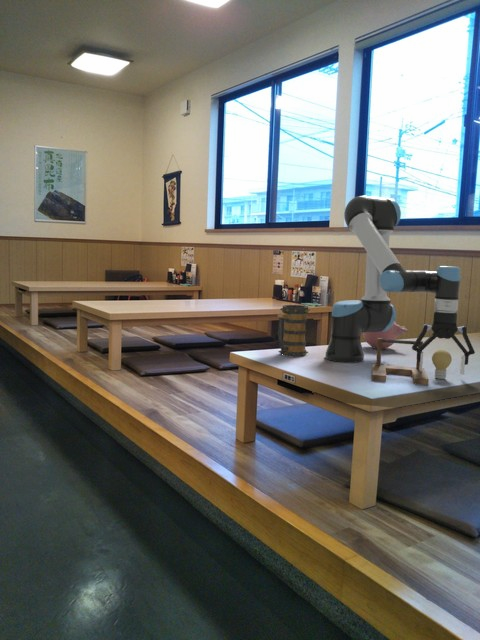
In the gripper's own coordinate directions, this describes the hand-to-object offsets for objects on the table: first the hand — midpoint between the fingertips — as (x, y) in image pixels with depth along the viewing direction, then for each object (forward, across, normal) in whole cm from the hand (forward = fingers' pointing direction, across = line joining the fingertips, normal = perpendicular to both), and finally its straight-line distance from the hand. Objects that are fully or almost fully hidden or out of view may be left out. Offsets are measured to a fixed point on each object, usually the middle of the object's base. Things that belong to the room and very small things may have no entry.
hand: (441, 372), depth 188 cm
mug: (+2, -56, +22) cm, 60 cm away
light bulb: (+2, 0, 0) cm, 2 cm away
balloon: (+2, -18, +52) cm, 55 cm away
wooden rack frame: (+2, -14, -3) cm, 15 cm away
